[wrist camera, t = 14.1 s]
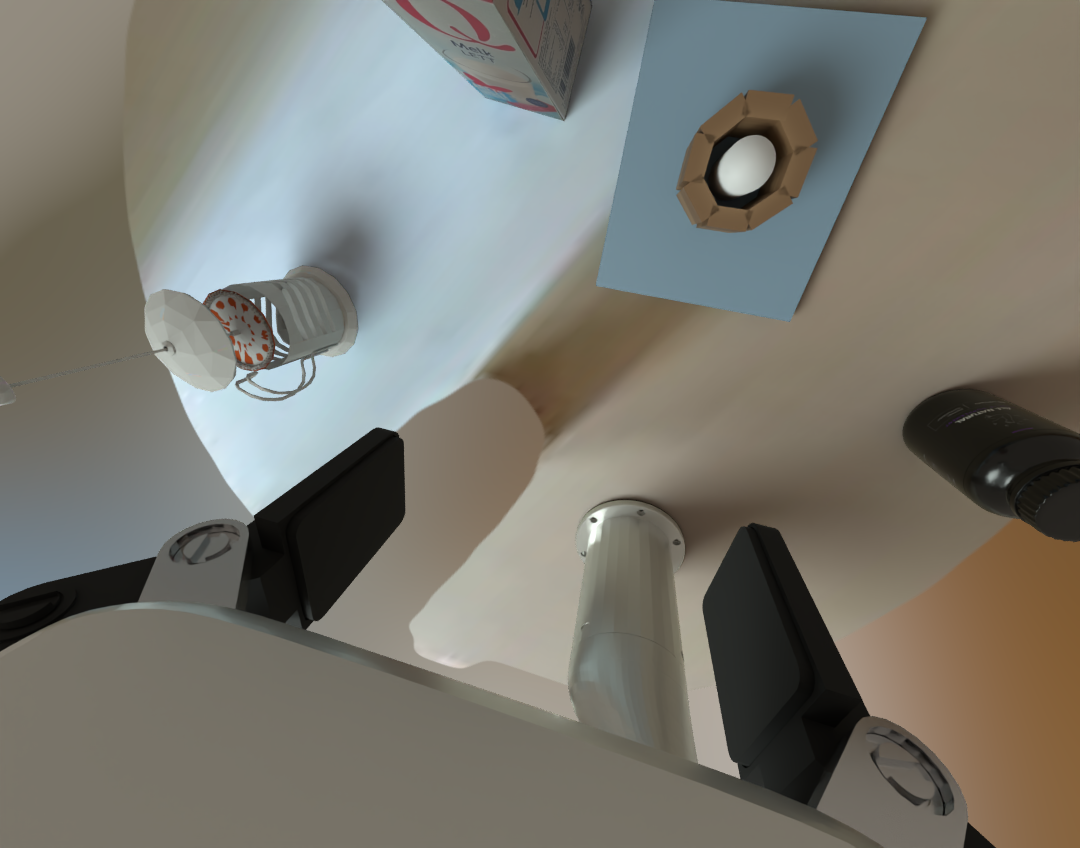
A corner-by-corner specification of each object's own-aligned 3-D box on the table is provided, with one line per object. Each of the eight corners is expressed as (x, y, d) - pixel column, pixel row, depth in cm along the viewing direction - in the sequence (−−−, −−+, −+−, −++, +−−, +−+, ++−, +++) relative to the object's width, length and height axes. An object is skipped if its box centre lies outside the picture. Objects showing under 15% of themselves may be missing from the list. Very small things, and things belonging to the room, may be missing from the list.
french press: (318, 247, 39) (-99, 257, 17) (384, 350, 42) (109, 471, 20) (262, 291, 42) (-141, 348, 20) (326, 383, 46) (41, 515, 24)
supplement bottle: (949, 372, 31) (1109, 439, 21) (1022, 411, 31) (1218, 499, 21) (878, 435, 34) (985, 521, 24) (944, 470, 34) (1079, 572, 24)
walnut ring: (759, 237, 29) (782, 237, 24) (666, 222, 30) (672, 220, 25) (802, 123, 26) (836, 99, 21) (696, 110, 26) (709, 85, 22)
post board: (783, 318, 32) (815, 335, 26) (597, 283, 34) (589, 292, 28) (911, 29, 24) (998, -37, 18) (654, 7, 26) (659, -59, 20)
